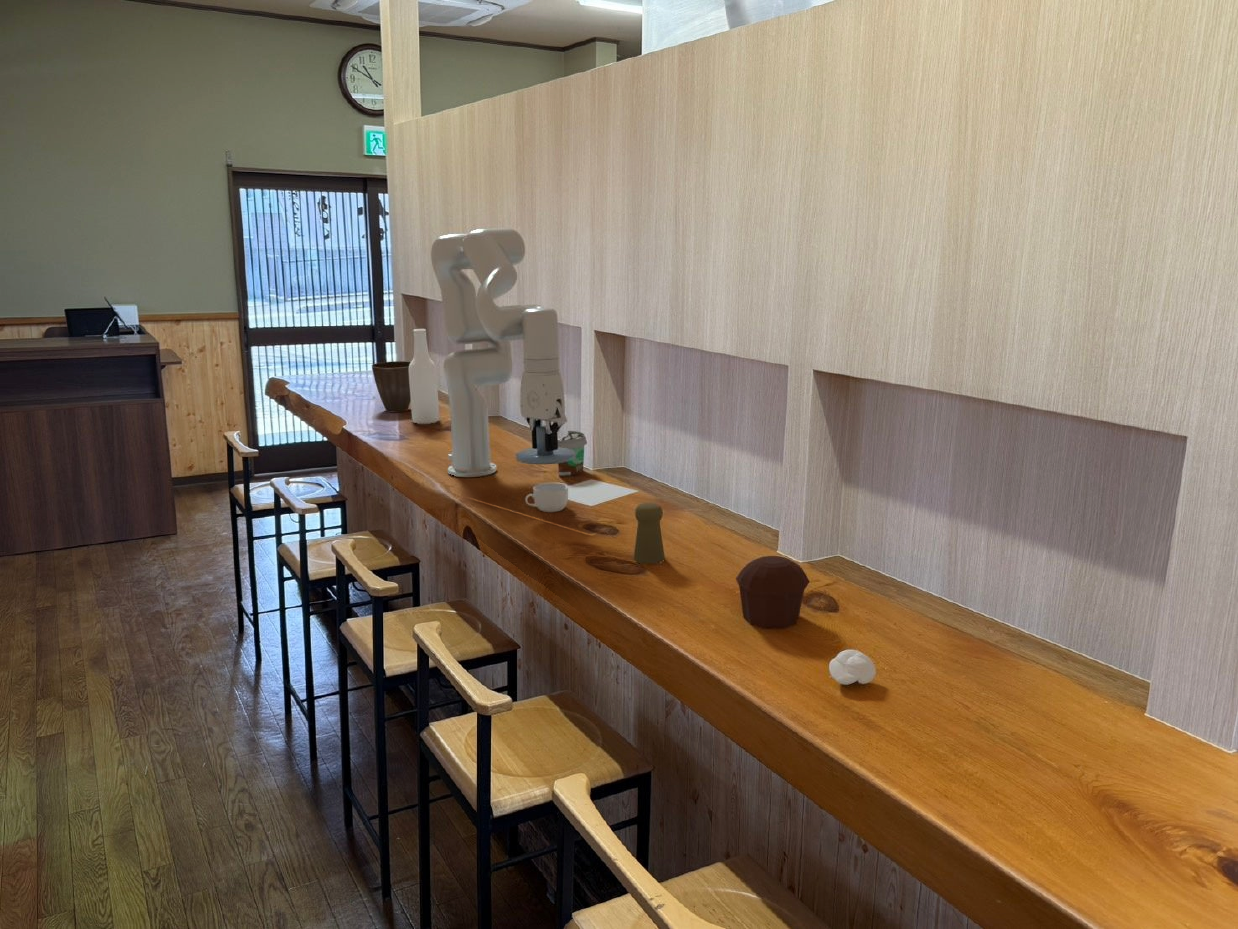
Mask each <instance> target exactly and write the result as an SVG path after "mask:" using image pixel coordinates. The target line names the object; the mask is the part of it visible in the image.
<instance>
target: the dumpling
mask: <svg viewBox="0 0 1238 929" xmlns="http://www.w3.org/2000/svg"><path fill="white" fill-rule="evenodd" d="M828 665H829V666H828V668H829V674H830V675H829V676H828V677H829V678H833V680H834V681H835V682H837V683H838V684H841V685H843V686H849V685H851V684H853V683H855V682H858V684H861V685H865V684H869V683H871V681H873V680H874V678H875V677H876V674H877V669H876V666H875V663H874V662H873V661H872V659H871V658H869V656H867V655H866V654H865V653H863V652H861V651H860V650H857V649H845V650H843V651H840V652H839V653H838V654H837V655H836V657H835V658H832V659H831V660H830V662H829V664H828Z"/></svg>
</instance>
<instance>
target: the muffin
mask: <svg viewBox="0 0 1238 929" xmlns="http://www.w3.org/2000/svg"><path fill="white" fill-rule="evenodd" d="M735 580H736V582H737V585H738V587H739V593H740V601H741V602H740V603H741V610H742V617H744V618H745V619H744V618H743V619H744V620H746V621H747V622H748V623H749V625H750V624H751V625H750V626H754V625H756V626H755V627H758V626H759V628H761V627H762V629H765V630H769V629H770V630H771V629H773V630H774V629H775V630H776V629H778V630H779V629H780V630H783V629H787V628H788V627H792V626H795V625H797V621H798V620H799V618H800V613H801V609H802V608H801V607H802V603H803V599H804V592H805V590H806V588H807V586H808V585H809V583H810V580H809V578H808V576H807V574H806V572H805V571H804V569H803V568H802V567H801V566H800V564H798V563H797V562H795V561H794V560H791V559H789V558H787V557H785V556H781V555H780V556H779V555H766V556H761V557H757V558H755V559H753V560H751V561H750V562H748V563H747V564H746V565H745V566H744V567H743V568H742V569H741V570H740V572H739V573H738V575H737V576H736V577H735ZM797 619H798V620H797Z"/></svg>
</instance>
